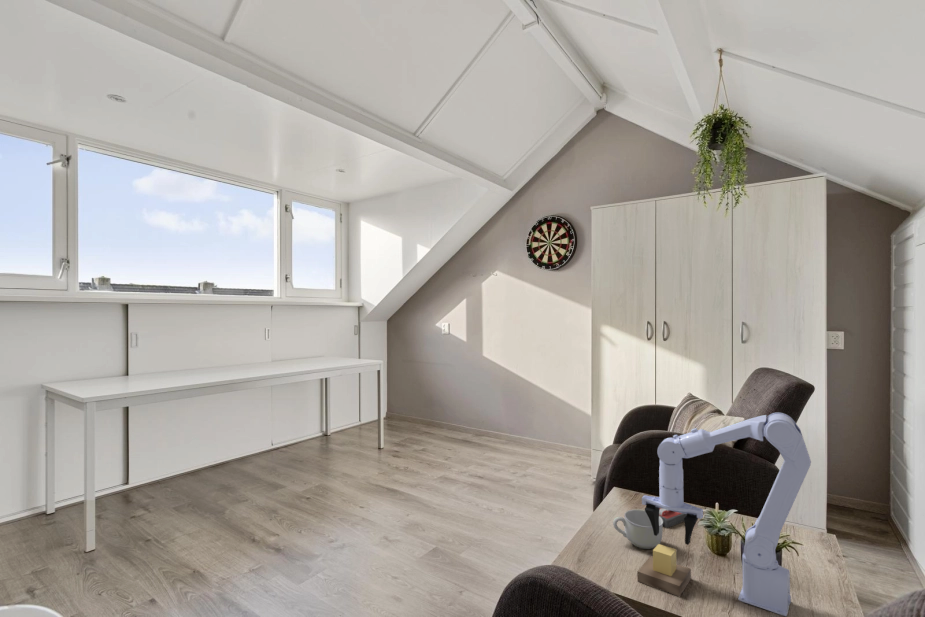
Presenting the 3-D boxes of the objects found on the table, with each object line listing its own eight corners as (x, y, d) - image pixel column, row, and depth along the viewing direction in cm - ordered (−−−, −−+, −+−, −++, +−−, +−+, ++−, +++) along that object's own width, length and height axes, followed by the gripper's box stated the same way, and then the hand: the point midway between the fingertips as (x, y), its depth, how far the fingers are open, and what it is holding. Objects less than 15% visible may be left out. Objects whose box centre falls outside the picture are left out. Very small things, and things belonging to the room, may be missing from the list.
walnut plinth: (690, 578, 119) (690, 568, 119) (679, 596, 112) (679, 586, 112) (650, 565, 126) (650, 555, 126) (637, 581, 118) (637, 571, 118)
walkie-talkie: (667, 510, 162) (628, 524, 151) (667, 498, 162) (628, 510, 152) (691, 520, 154) (651, 535, 144) (691, 507, 154) (651, 520, 144)
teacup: (660, 538, 141) (660, 511, 141) (666, 555, 131) (665, 527, 131) (612, 532, 145) (612, 506, 145) (613, 549, 135) (613, 521, 135)
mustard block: (676, 569, 119) (676, 549, 119) (671, 576, 116) (671, 556, 116) (658, 563, 122) (658, 543, 122) (653, 570, 119) (652, 550, 119)
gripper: (705, 487, 120) (706, 541, 120) (647, 475, 129) (648, 525, 129) (699, 496, 115) (699, 551, 114) (639, 482, 124) (639, 534, 123)
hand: (671, 538), depth 121 cm, fingers open, 7 cm apart
